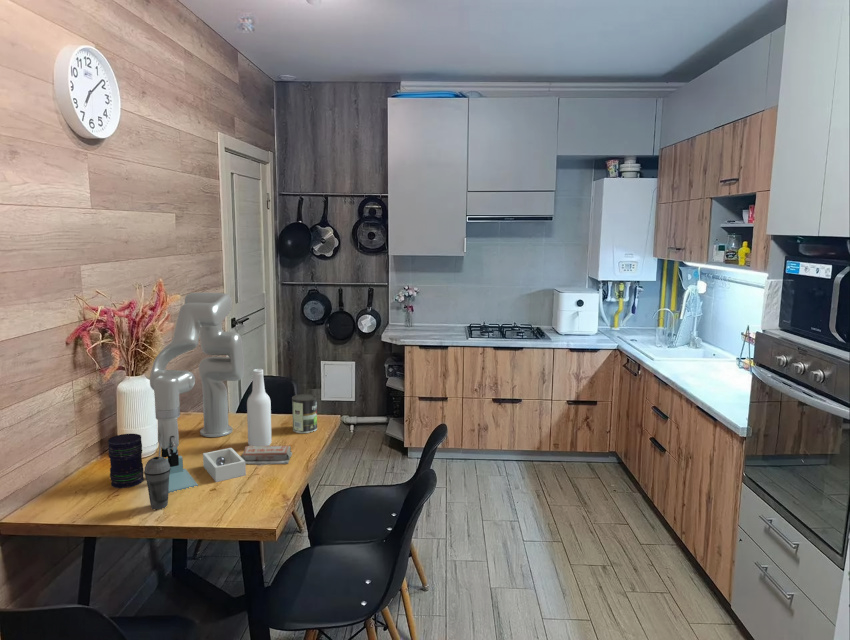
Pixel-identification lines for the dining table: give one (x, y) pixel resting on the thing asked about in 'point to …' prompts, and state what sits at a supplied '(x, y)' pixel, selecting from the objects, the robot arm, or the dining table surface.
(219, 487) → the dining table surface
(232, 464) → the tub
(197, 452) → the dining table surface
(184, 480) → the lid
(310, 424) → the coffee can
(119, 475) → the storage jar
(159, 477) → the beverage cup
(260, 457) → the packaged product
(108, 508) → the dining table surface
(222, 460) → the ball
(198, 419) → the dining table surface
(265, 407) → the alcohol
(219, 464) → the ball
